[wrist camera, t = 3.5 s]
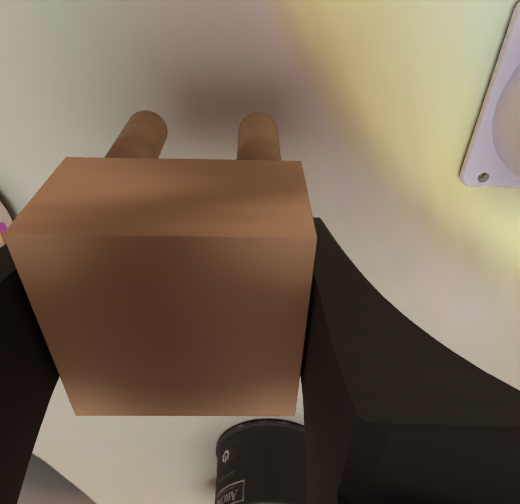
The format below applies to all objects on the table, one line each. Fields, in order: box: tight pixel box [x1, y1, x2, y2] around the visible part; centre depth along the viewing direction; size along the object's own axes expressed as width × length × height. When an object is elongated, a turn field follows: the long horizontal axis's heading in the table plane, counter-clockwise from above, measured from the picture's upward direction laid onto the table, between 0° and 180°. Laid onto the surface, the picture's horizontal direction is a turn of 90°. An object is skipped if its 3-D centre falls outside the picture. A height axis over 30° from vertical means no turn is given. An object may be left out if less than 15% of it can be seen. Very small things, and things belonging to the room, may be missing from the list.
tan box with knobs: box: [3, 111, 317, 416], centre depth 12 cm, size 5×5×7 cm
